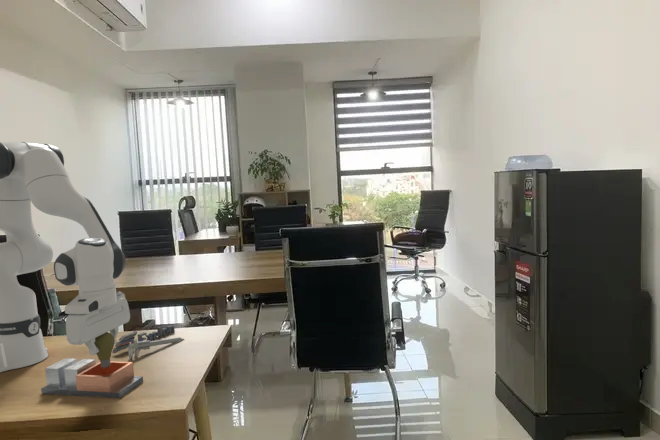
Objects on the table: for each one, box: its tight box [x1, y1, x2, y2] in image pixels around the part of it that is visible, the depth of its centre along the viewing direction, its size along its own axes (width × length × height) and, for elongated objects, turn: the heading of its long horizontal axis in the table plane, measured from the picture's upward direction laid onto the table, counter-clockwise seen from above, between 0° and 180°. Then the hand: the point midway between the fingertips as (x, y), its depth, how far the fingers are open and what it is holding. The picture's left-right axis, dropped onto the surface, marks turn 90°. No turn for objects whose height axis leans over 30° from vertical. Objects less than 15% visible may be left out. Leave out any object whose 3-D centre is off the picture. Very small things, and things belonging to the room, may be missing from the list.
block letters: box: [111, 325, 176, 354], centre depth 161 cm, size 25×2×6 cm, turn 152°
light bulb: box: [94, 331, 115, 369], centre depth 125 cm, size 6×6×10 cm
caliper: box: [127, 336, 185, 360], centre depth 155 cm, size 20×1×6 cm, turn 145°
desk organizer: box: [40, 357, 144, 399], centre depth 127 cm, size 24×10×6 cm, turn 77°
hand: (103, 349), depth 125 cm, fingers closed on light bulb, 6 cm apart
